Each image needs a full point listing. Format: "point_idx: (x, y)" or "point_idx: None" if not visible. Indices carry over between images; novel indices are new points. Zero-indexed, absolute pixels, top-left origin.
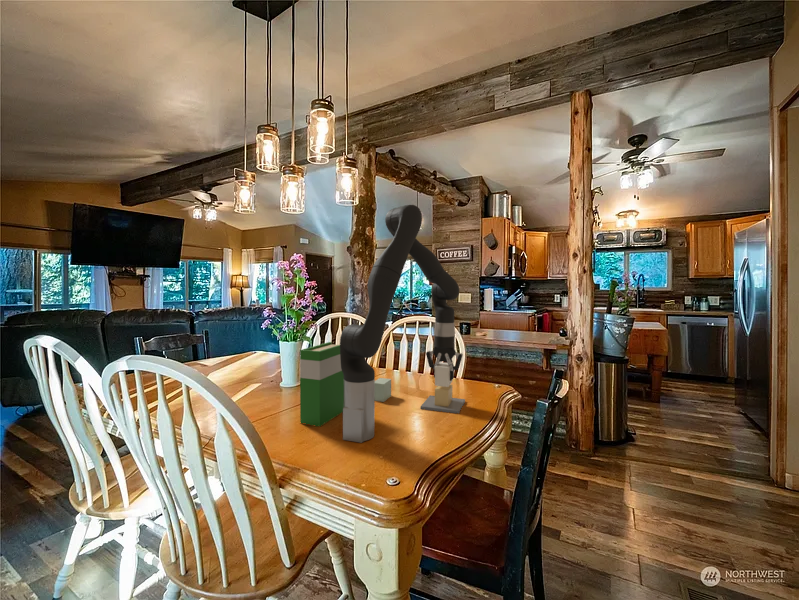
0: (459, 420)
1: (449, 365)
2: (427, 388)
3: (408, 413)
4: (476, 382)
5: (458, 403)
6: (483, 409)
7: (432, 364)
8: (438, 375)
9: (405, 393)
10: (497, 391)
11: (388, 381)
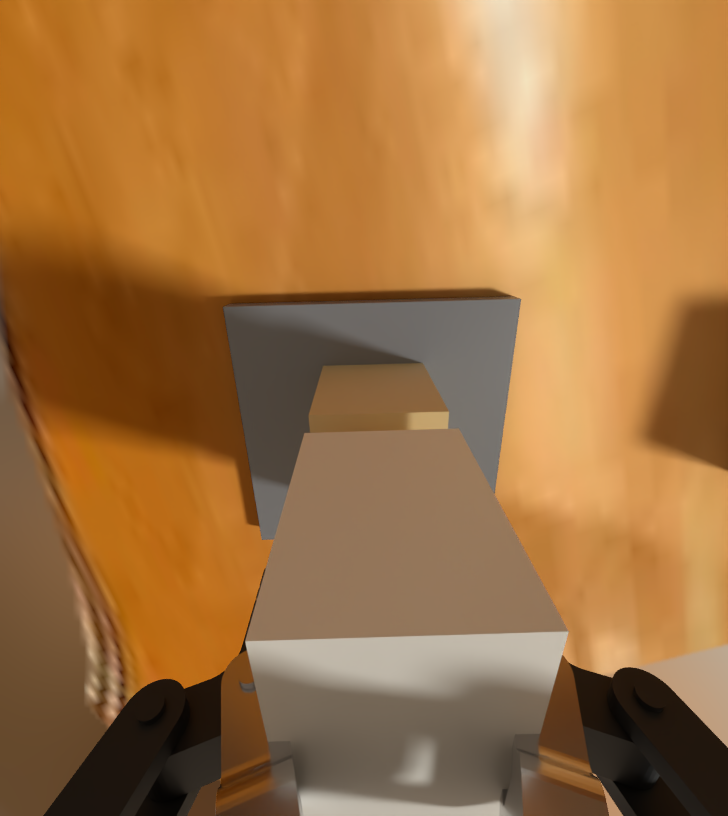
0: (176, 156)
1: (275, 756)
2: None
3: (594, 156)
4: None
5: (276, 454)
6: (118, 444)
7: (626, 748)
8: (441, 504)
9: (646, 543)
10: None
11: None
